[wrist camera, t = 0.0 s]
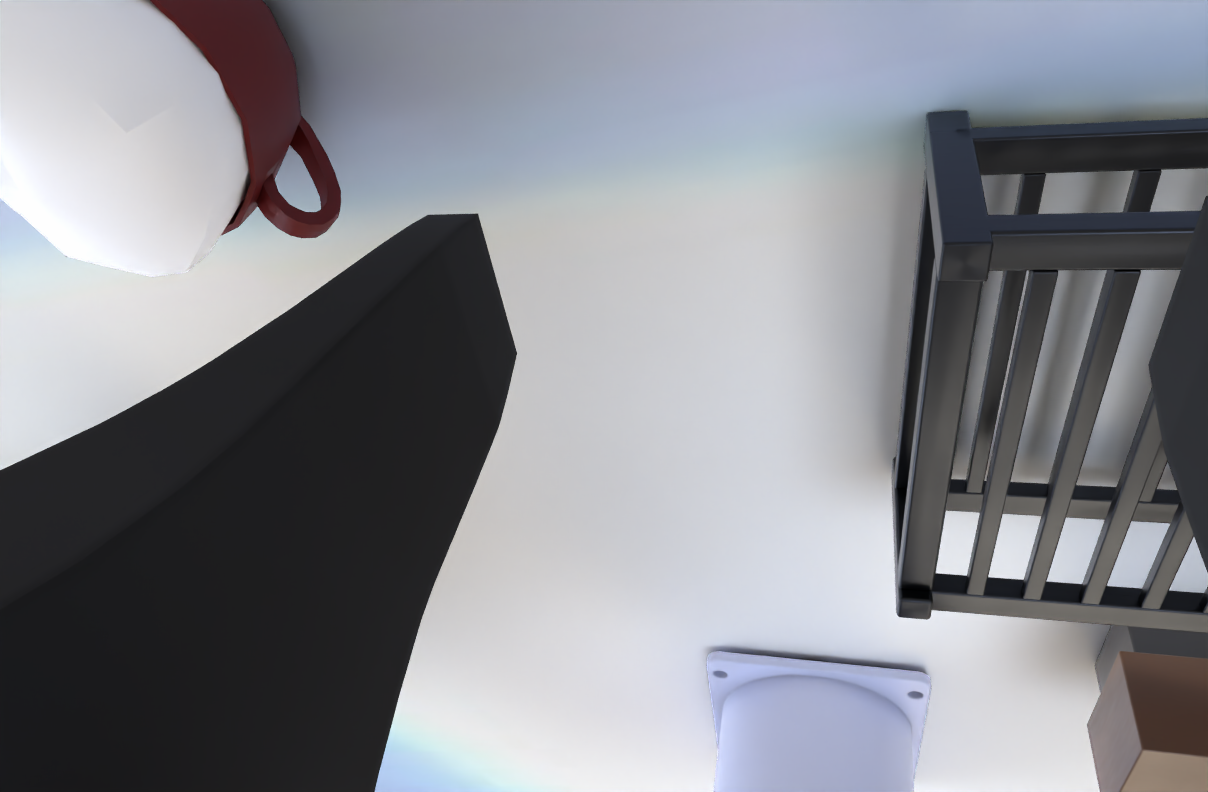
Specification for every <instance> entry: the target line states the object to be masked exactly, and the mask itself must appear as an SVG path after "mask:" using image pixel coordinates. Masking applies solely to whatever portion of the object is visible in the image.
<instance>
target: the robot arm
mask: <svg viewBox="0 0 1208 792" xmlns="http://www.w3.org/2000/svg"><path fill="white" fill-rule="evenodd" d="M516 356H517V352H516V348H515V345H514V341H513V337H512V334H511V330H510V327H509V323H508V320H507V316H506V312H505V309H504V305H503V302H502V298H501V295H500V291H499V287H498V284H497V280H496V277H495V273H494V270H493V266H492V263H491V259H490V255H489V252H488V248H487V245H486V241H485V238H484V234H483V230H482V227H481V223H480V220H479V216H478V214H446V215H427V216H425V217H424V218H422V219H420V220H418V221H416V222H415V223H413V224H411V225H410V226H408V227H406V228H405V229H403V230H402V231H400V232H399V233H397V234H396V235H394V236H393V237H391V238H390V239H388V240H387V241H385V242H384V243H382V244H381V245H380V246H378V247H377V248H375V249H374V250H373V251H371V252H370V253H368V254H367V255H365V256H364V257H363V258H361V259H360V260H358V261H357V262H356V263H354V264H353V265H351V266H350V267H349V268H347V269H346V270H344V271H343V272H342V273H340V274H339V275H337V276H336V277H335V278H333V279H332V280H330V281H329V282H328V283H326V284H325V285H323V286H322V287H321V288H319V289H318V290H316V291H315V292H314V293H312V294H311V295H309V296H308V297H307V298H305V299H304V300H302V301H301V302H299V303H298V304H297V305H295V306H294V307H292V308H291V309H290V310H288V311H287V312H285V313H284V314H282V315H281V316H279V317H278V318H276V319H275V320H273V321H271V322H270V323H268V324H267V325H265V326H264V327H262V328H261V329H259V330H258V331H256V332H255V333H253V334H252V335H250V336H249V337H247V338H246V339H244V340H243V341H241V342H240V343H238V344H237V345H235V346H233V347H232V348H230V349H229V350H227V351H226V352H224V353H223V354H221V355H220V356H218V357H217V358H215V359H214V360H212V361H211V362H209V363H207V364H206V365H204V366H202V367H201V368H199V369H197V370H196V371H194V372H193V373H191V374H189V375H187V376H186V377H184V378H182V379H181V380H179V381H177V382H175V383H174V384H172V385H170V386H169V387H167V388H165V389H163V390H162V391H160V392H158V393H156V394H154V395H152V396H151V397H149V398H147V399H145V400H143V401H141V402H140V403H138V404H136V405H134V406H132V407H130V408H129V409H127V410H125V411H123V412H121V413H119V414H118V415H116V416H114V417H112V418H110V419H108V420H106V421H104V422H102V423H100V424H98V425H96V426H94V427H92V428H90V429H88V430H86V431H83V432H81V433H79V434H77V435H75V436H73V437H71V438H69V439H66V440H64V441H62V442H60V443H58V444H56V445H54V446H51V447H49V448H47V449H45V450H43V451H41V452H39V453H37V454H34V455H32V456H30V457H28V458H26V459H24V460H22V461H20V462H17V463H15V464H13V465H11V466H9V467H7V468H5V469H2V470H0V792H374V791H375V787H376V783H377V778H378V774H379V770H380V767H381V763H382V759H383V755H384V751H385V747H386V744H387V740H388V736H389V732H390V728H391V725H392V721H393V717H394V713H395V709H396V705H397V702H398V698H399V694H400V691H401V687H402V684H403V680H404V677H405V674H406V670H407V667H408V663H409V660H410V656H411V653H412V650H413V646H414V643H415V639H416V636H417V632H418V629H419V626H420V622H421V619H422V616H423V613H424V610H425V608H426V605H427V602H428V599H429V597H430V594H431V591H432V589H433V586H434V583H435V581H436V578H437V576H438V573H439V571H440V569H441V566H442V564H443V561H444V559H445V557H446V554H447V552H448V549H449V547H450V545H451V542H452V540H453V537H454V535H455V533H456V530H457V528H458V525H459V523H460V521H461V518H462V516H463V513H464V511H465V509H466V506H467V504H468V501H469V499H470V497H471V494H472V492H473V489H474V487H475V485H476V482H477V480H478V477H479V475H480V472H481V470H482V467H483V465H484V463H485V460H486V458H487V455H488V453H489V450H490V448H491V445H492V443H493V440H494V438H495V435H496V432H497V430H498V427H499V424H500V420H501V417H502V413H503V409H504V406H505V402H506V398H507V394H508V390H509V386H510V382H511V377H512V373H513V369H514V364H515V360H516ZM1149 371H1150V377H1151V383H1152V388H1153V394H1154V400H1155V406H1156V412H1157V417H1158V422H1159V427H1160V432H1161V437H1162V441H1163V446H1164V451H1165V455H1166V458H1167V460H1168V463H1169V466H1170V469H1171V472H1172V475H1173V478H1174V481H1175V484H1176V486H1177V489H1178V492H1179V495H1180V498H1181V501H1182V503H1183V506H1184V509H1185V512H1186V515H1187V517H1188V520H1189V523H1190V526H1191V528H1192V531H1193V534H1194V537H1195V539H1196V542H1197V545H1198V548H1199V550H1200V553H1201V556H1202V558H1203V561H1204V564H1205V567H1206V569H1207V572H1208V196H1206V198H1205V201H1204V204H1203V207H1202V210H1201V213H1200V216H1199V219H1198V221H1197V224H1196V227H1195V230H1194V233H1193V236H1192V239H1191V242H1190V245H1189V248H1188V251H1187V254H1186V257H1185V260H1184V262H1183V265H1182V268H1181V271H1180V274H1179V277H1178V280H1177V283H1176V286H1175V289H1174V292H1173V295H1172V298H1171V300H1170V303H1169V306H1168V309H1167V312H1166V315H1165V318H1164V321H1163V324H1162V327H1161V330H1160V333H1159V336H1158V339H1157V341H1156V344H1155V347H1154V350H1153V353H1152V356H1151V359H1150V362H1149ZM707 672H708V679H709V687H710V694H711V701H712V708H713V716H714V723H715V730H716V738H717V745H718V756H717V764H716V773H715V782H714V790H713V792H914V779H915V773H916V768H917V763H918V757H919V752H920V746H921V741H922V736H923V730H924V725H925V720H926V714H927V709H928V704H929V698H930V693H931V679H930V677H929V676H928V675H927V674H925V673H923V672H919V671H910V670H900V669H890V668H880V667H870V666H860V665H850V664H840V663H830V662H820V661H810V660H800V659H790V658H780V657H770V656H760V655H750V654H740V653H731V652H721V651H715V652H712V653H710V654H709V655H708V658H707Z"/></svg>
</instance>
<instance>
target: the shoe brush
mask: <svg viewBox="0 0 1208 792" xmlns="http://www.w3.org/2000/svg"><path fill="white" fill-rule="evenodd" d="M1095 669H1096V674H1097V679H1098V683H1099V688H1100V693H1101V694H1100V696H1099V699H1098V701H1097V703H1096V705H1095V708H1094V710H1093V712H1092V715H1091V717H1090V719H1089V721H1088V724H1087V727H1088V732H1089V737H1090V742H1091V748H1092V753H1093V758H1094V763H1095V768H1096V774H1097V779H1098V784H1099V789H1100V792H1208V633H1201V632H1189V631H1178V630H1166V629H1154V628H1142V627H1130V626H1118V625H1111V627H1110V630H1109V632H1108V635H1107V637H1106V639H1105V642H1104V644H1103V647H1102V649H1101V652H1100V654H1099V657H1098V659H1097V661H1096V664H1095Z"/></svg>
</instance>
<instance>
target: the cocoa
mask: <svg viewBox="0 0 1208 792" xmlns="http://www.w3.org/2000/svg"><path fill="white" fill-rule="evenodd" d="M289 146H291V147H292V148H293V149H294V150H295V151H296V152H297V153H298V154H299V155H300V156H301V158H302V160H303V162H304V164H305V166H306V168H307V170H308V172H309V174H310V176H311V178H312V180H313V182H314V184H315V186H316V189H317V191H318V193H319V196H320V201H321V210H319V211H317V212H304V211H301V210H299V209H297V208H295V207H293V206H291V205H289V203H288V202H287V201H286V200H285V199H284V198H283V197H282V195H281V194H280V193H279V192H278V189H277V186H276V183H275V180H274V179H275V177H276V175H277V173H278V171H279V168H280V166H281V164H282V161H283V159H284V157H285V155H286V152H287V150H288V148H289ZM0 198H1V199H2V200H3V201H4V202H5V203H6V204H7V205H9V206H10V207H11V208H12V209H13V210H14V211H16V212H17V213H18V214H20V215H21V216H22V217H24V218H25V219H26V220H27V221H28V222H29V223H30V224H31V225H32V226H33V227H34V228H36V229H37V230H38V231H39V232H40V233H41V234H42V235H43V236H44V237H45V238H46V239H47V240H49V241H50V242H51V243H52V244H53V245H54V246H55V247H56V248H57V249H58V250H59V251H61V252H62V253H63V254H64V255H65V256H66V257H70V258H74V259H78V260H82V261H86V262H90V263H93V264H97V265H101V266H105V267H109V268H114V269H118V270H123V271H127V272H132V273H136V274H141V275H145V276H150V277H158V276H165V275H172V274H180V273H186V272H188V271H189V270H190V269H191V268H192V267H193V266H195V265H196V264H197V263H198V262H199V261H200V260H202V259H203V258H204V257H205V256H206V255H207V254H209V253H210V252H211V250H212V249H213V247H214V245H215V244H216V242H217V241H218V239H219V238H220V236H221V235H223V234H225V233H227V232H229V231H231V230H233V229H235V228H237V227H239V226H240V225H241V224H242V223H243V222H244V221H245V219H246V218H247V217H248V216H249V215H250V214H251V213H252V212H253V211H254V210H255V209H256V207H257V206H258V207H259V209H260V210H261V212H262V213H263V215H264V216H265V217H266V218H267V219H268V220H269V221H270V222H271V223H273V224H274V225H275V226H276V227H277V228H278V229H280V230H282V231H284V232H285V233H287V234H289V235H291V236H295V237H299V238H316V237H318V236H320V235H321V234H323V233H325V232H326V231H327V230H328V229H329V228H330V226H331V225H332V224H333V223H334V222H335V220H336V219H337V218H338V215H339V212H340V205H341V190H340V187H339V184H338V181H337V178H336V175H335V172H334V169H333V167H332V165H331V163H330V161H329V158H328V156H327V154H326V152H325V151H324V149H323V147H322V145H321V144H320V142H319V140H318V139H317V137H316V135H315V133H314V132H313V130H312V128H311V126H310V125H309V124H308V123H307V122H306V120H305V119H304V118H303V117H302V116H301V110H300V101H299V91H298V82H297V73H296V65H295V61H294V58H293V54H292V52H291V50H290V48H289V46H288V45H287V43H286V41H285V39H284V37H283V35H282V33H281V31H280V29H279V27H278V25H277V23H276V21H275V19H274V17H273V15H272V13H271V11H270V9H269V7H268V6H267V5H266V4H265V3H264V2H263V1H262V0H0Z"/></svg>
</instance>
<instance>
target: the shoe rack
mask: <svg viewBox="0 0 1208 792" xmlns="http://www.w3.org/2000/svg"><path fill="white" fill-rule="evenodd" d="M924 155H925V165H926V169H925V174H924V184H923V194H922V204H921V214H920V224H919V234H918V244H917V254H916V264H915V273H914V283H913V293H912V303H911V313H910V323H909V333H908V343H907V353H906V363H905V373H904V383H903V392H902V402H901V412H900V422H899V432H898V442H897V452H896V457H895V458H894V459H893V465H892V501H893V529H894V557H895V586H896V613H897V615H898V616H899V617H904V618H915V619H929V618H930V616H931V611H932V610H939V611H950V612H962V613H974V614H986V615H998V616H1010V617H1022V618H1034V619H1046V620H1058V621H1070V622H1082V623H1094V624H1106V625H1118V626H1130V627H1142V628H1154V629H1166V630H1178V631H1189V632H1201V633H1208V587H1207V589H1206V591H1205V593H1193V592H1180V591H1168V590H1169V588H1170V586H1171V584H1172V582H1173V580H1174V578H1175V575H1176V573H1177V571H1178V569H1179V567H1180V565H1181V562H1182V560H1183V558H1184V556H1185V554H1186V552H1187V550H1188V547H1189V545H1190V543H1191V541H1192V539H1193V537H1194V534H1193V531H1192V528H1191V526H1190V523H1189V520H1188V517H1187V515H1186V512H1185V509H1184V506H1183V503H1182V501H1181V498H1180V495H1179V492H1178V490H1164V489H1157V486H1158V484H1159V481H1160V479H1161V476H1162V474H1163V471H1164V469H1165V466H1166V464H1167V461H1168V460H1167V458H1166V455H1165V451H1164V446H1163V441H1162V437H1161V432H1160V427H1159V422H1158V417H1157V412H1156V406H1155V400H1154V394H1153V388H1151V391H1150V394H1149V397H1148V399H1147V402H1146V405H1145V408H1144V411H1143V414H1142V416H1141V419H1140V422H1139V425H1138V428H1137V431H1136V433H1135V436H1134V439H1133V442H1132V445H1131V448H1130V450H1129V453H1128V456H1127V459H1126V462H1125V465H1124V467H1123V470H1122V473H1121V476H1120V479H1119V482H1118V484H1117V487H1102V486H1082V485H1076V482H1077V479H1078V476H1079V473H1080V469H1081V466H1082V463H1083V460H1084V456H1085V453H1086V450H1087V446H1088V443H1089V440H1090V437H1091V433H1092V430H1093V427H1094V424H1095V420H1096V417H1097V414H1098V410H1099V407H1100V404H1101V401H1102V397H1103V394H1104V391H1105V388H1106V384H1107V381H1108V378H1109V375H1110V371H1111V368H1112V365H1113V361H1114V358H1115V355H1116V352H1117V348H1118V345H1119V342H1120V339H1121V335H1122V332H1123V329H1124V326H1125V322H1126V319H1127V316H1128V312H1129V309H1130V306H1131V303H1132V299H1133V296H1134V293H1135V290H1136V286H1137V283H1138V280H1139V277H1140V273H1141V271H1140V270H1181V268H1182V265H1183V262H1184V260H1185V257H1186V254H1187V251H1188V248H1189V245H1190V242H1191V239H1192V236H1193V233H1194V230H1195V227H1196V224H1197V221H1198V219H1199V216H1200V213H1201V211H1170V212H1150V209H1151V205H1152V202H1153V199H1154V195H1155V192H1156V189H1157V185H1158V182H1159V178H1160V175H1161V172H1162V171H1161V170H1164V169H1197V168H1208V118H1196V119H1172V120H1149V121H1126V122H1103V123H1080V124H1056V125H1033V126H1010V127H987V128H971V123H970V118H969V113H968V111H952V112H931V113H928V114H927V116H926V127H925V137H924ZM1131 170H1134V173H1133V176H1132V180H1131V184H1130V187H1129V191H1128V195H1127V198H1126V202H1125V206H1124V209H1123V212H1120V213H1071V214H1038V212H1039V207H1040V202H1041V197H1042V192H1043V187H1044V182H1045V177H1046V174H1045V173H1066V172H1099V171H1131ZM1001 174H1021V179H1020V184H1019V190H1018V195H1017V201H1016V206H1015V212H1014V215H988V212H987V207H986V202H985V197H984V192H983V186H982V181H981V176H980V175H1001ZM1027 270H1030V271H1029V276H1028V281H1027V286H1026V291H1025V296H1024V301H1023V306H1022V310H1021V315H1020V320H1019V325H1018V330H1017V335H1016V340H1015V345H1014V349H1013V354H1012V359H1011V364H1010V369H1009V374H1008V379H1007V384H1006V389H1005V393H1004V398H1003V403H1002V408H1001V413H1000V418H999V423H998V428H997V432H996V437H995V442H994V447H993V452H992V457H991V462H990V467H989V471H988V476H987V481H984V479H985V474H986V469H987V464H988V459H989V454H990V449H991V444H992V439H993V434H994V429H995V424H996V419H997V414H998V410H999V405H1000V400H1001V395H1002V390H1003V385H1004V380H1005V375H1006V370H1007V365H1008V360H1009V355H1010V350H1011V345H1012V340H1013V335H1014V330H1015V325H1016V320H1017V316H1018V311H1019V306H1020V301H1021V296H1022V291H1023V286H1024V281H1025V276H1026V271H1027ZM1058 270H1107V271H1106V275H1105V278H1104V282H1103V286H1102V289H1101V293H1100V297H1099V300H1098V304H1097V308H1096V311H1095V315H1094V318H1093V322H1092V326H1091V329H1090V333H1089V337H1088V340H1087V344H1086V348H1085V351H1084V355H1083V358H1082V362H1081V366H1080V369H1079V373H1078V377H1077V380H1076V384H1075V388H1074V391H1073V395H1072V399H1071V402H1070V406H1069V409H1068V413H1067V417H1066V420H1065V424H1064V428H1063V431H1062V435H1061V439H1060V442H1059V446H1058V450H1057V453H1056V457H1055V460H1054V464H1053V468H1052V471H1051V475H1050V479H1049V482H1048V484H1041V483H1021V482H1010V479H1011V475H1012V471H1013V466H1014V462H1015V458H1016V453H1017V449H1018V445H1019V440H1020V436H1021V432H1022V427H1023V423H1024V419H1025V414H1026V410H1027V406H1028V401H1029V397H1030V393H1031V388H1032V384H1033V380H1034V375H1035V371H1036V367H1037V363H1038V358H1039V354H1040V350H1041V345H1042V341H1043V337H1044V332H1045V328H1046V324H1047V319H1048V315H1049V311H1050V306H1051V302H1052V298H1053V293H1054V289H1055V285H1056V280H1057V276H1058ZM989 271H1004V272H1003V278H1002V283H1001V289H1000V294H999V300H998V305H997V311H996V316H995V322H994V327H993V333H992V338H991V344H990V349H989V355H988V360H987V366H986V371H985V377H984V382H983V388H982V393H981V399H980V404H979V410H978V415H977V421H976V426H975V432H974V438H973V443H972V449H971V454H970V460H969V465H968V471H967V476H966V480H959V479H951V476H952V470H953V463H954V457H955V451H956V445H957V439H958V433H959V427H960V421H961V415H962V409H963V403H964V397H965V391H966V385H967V378H968V372H969V366H970V360H971V354H972V348H973V342H974V336H975V330H976V324H977V318H978V312H979V306H980V300H981V294H982V287H983V281H986V280H987V279H988V274H989ZM946 510H947V511H965V512H980V515H979V520H978V525H977V530H976V535H975V540H974V545H973V550H972V554H971V559H970V564H969V569H968V574H967V576H963V575H950V574H936V567H937V561H938V555H939V548H940V542H941V536H942V530H943V524H944V518H945V512H946ZM1002 514H1017V515H1035V516H1041V520H1040V524H1039V527H1038V531H1037V534H1036V538H1035V542H1034V545H1033V549H1032V552H1031V556H1030V560H1029V563H1028V567H1027V570H1026V574H1025V578H1024V580H1018V579H1004V578H991V577H988V574H989V570H990V566H991V561H992V557H993V553H994V548H995V544H996V540H997V535H998V531H999V527H1000V522H1001V518H1002ZM1066 517H1070V518H1087V519H1105V521H1104V524H1103V527H1102V530H1101V533H1100V535H1099V538H1098V541H1097V544H1096V547H1095V550H1094V552H1093V555H1092V558H1091V561H1090V564H1089V567H1088V569H1087V572H1086V575H1085V578H1084V581H1083V584H1072V583H1058V582H1046V580H1047V577H1048V574H1049V571H1050V567H1051V564H1052V561H1053V558H1054V554H1055V551H1056V548H1057V544H1058V541H1059V538H1060V535H1061V531H1062V528H1063V525H1064V522H1065V518H1066ZM1131 521H1140V522H1157V523H1171V524H1170V526H1169V528H1168V530H1167V533H1166V535H1165V537H1164V540H1163V542H1162V544H1161V547H1160V549H1159V551H1158V554H1157V556H1156V558H1155V561H1154V563H1153V565H1152V568H1151V570H1150V572H1149V575H1148V577H1147V579H1146V581H1145V584H1144V586H1143V588H1142V589H1139V588H1126V587H1112V586H1106V585H1107V583H1108V580H1109V578H1110V575H1111V572H1112V570H1113V567H1114V565H1115V562H1116V559H1117V557H1118V554H1119V552H1120V549H1121V546H1122V544H1123V541H1124V539H1125V536H1126V533H1127V531H1128V528H1129V526H1130V523H1131Z"/></svg>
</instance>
